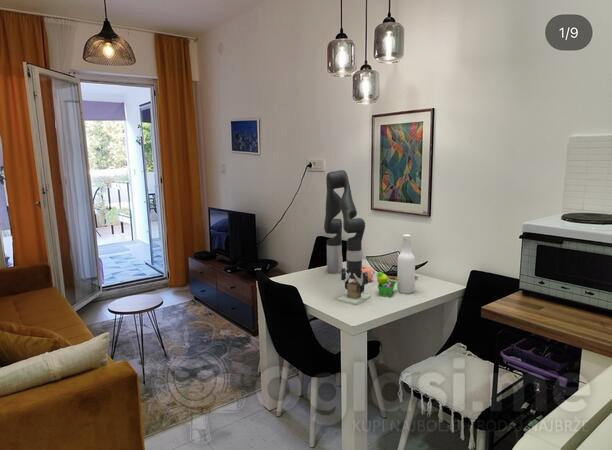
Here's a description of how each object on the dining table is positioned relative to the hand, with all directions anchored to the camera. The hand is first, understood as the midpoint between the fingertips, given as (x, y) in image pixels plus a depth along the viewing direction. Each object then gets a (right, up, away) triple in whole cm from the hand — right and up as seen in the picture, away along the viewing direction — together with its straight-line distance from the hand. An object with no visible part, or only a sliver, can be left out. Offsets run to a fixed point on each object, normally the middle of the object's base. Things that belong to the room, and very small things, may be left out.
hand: (354, 290), depth 203 cm
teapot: (+9, 0, +32) cm, 33 cm away
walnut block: (0, -3, 0) cm, 3 cm away
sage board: (0, -4, +1) cm, 4 cm away
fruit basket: (+17, -3, +9) cm, 19 cm away
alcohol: (+28, -2, +11) cm, 30 cm away
